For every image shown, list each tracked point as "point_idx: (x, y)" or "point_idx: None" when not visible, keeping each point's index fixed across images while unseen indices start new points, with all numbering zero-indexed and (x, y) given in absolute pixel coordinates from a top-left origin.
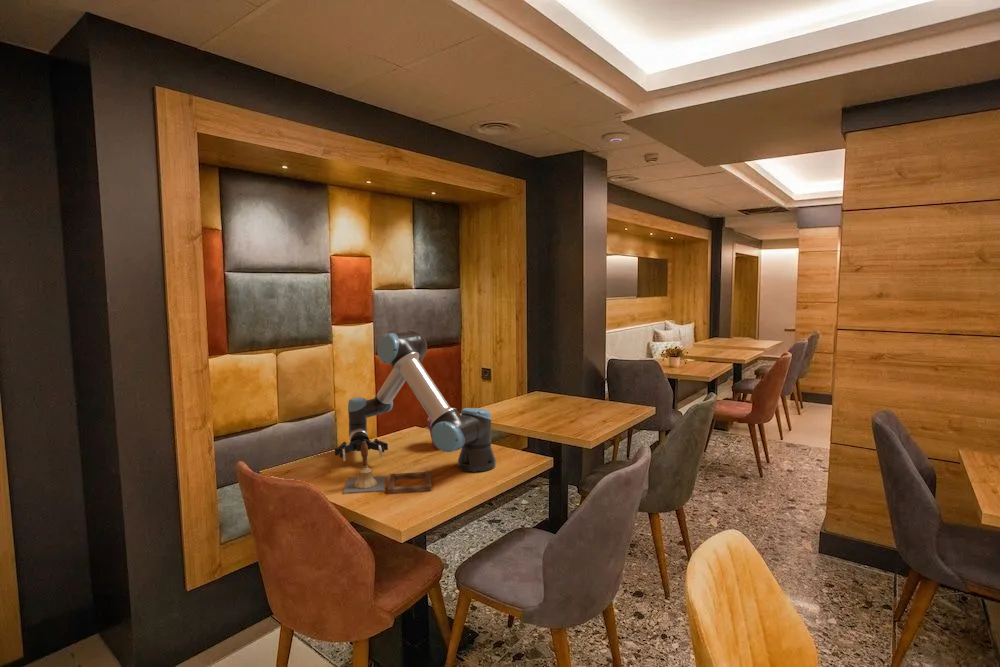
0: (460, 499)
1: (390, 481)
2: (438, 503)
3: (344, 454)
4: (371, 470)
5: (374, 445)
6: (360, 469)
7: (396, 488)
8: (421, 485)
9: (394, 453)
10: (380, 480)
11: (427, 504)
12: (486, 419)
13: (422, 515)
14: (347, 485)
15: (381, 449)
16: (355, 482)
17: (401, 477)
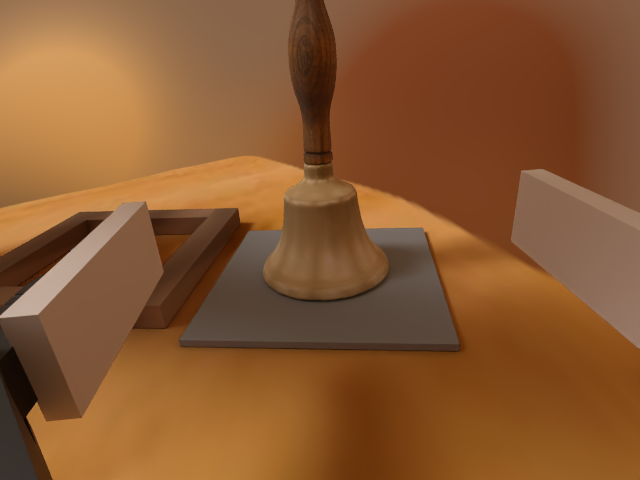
0: (56, 198)
1: (201, 244)
2: (125, 191)
3: (528, 175)
4: (285, 194)
5: (42, 473)
6: (347, 187)
7: (203, 210)
8: (103, 217)
9: None
10: (239, 292)
11: (155, 189)
12: None
13: (194, 171)
14: (424, 267)
15: (122, 208)
16: (378, 251)
17: None
